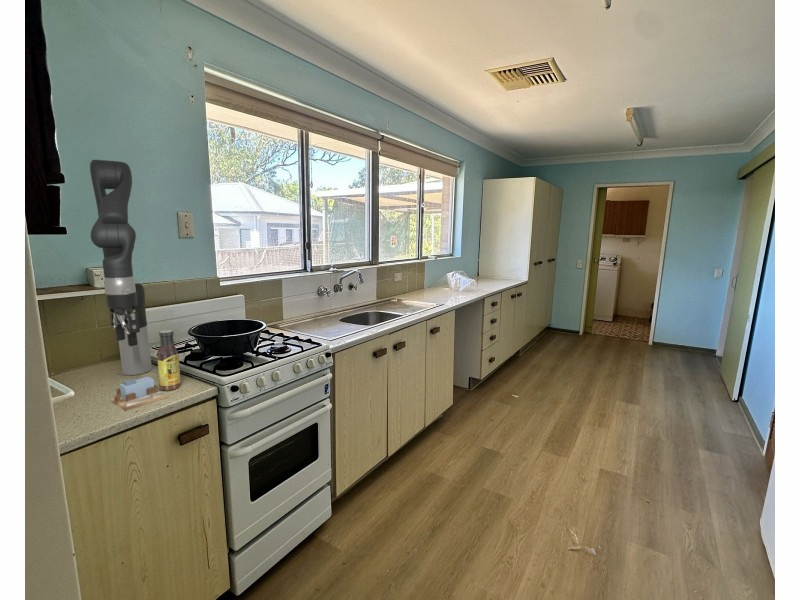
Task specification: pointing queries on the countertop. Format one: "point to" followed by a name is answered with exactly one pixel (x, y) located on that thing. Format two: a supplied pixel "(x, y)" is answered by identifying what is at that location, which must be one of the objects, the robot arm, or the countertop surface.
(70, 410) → the countertop surface
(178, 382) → the sauce bottle
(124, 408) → the jig
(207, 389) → the countertop surface
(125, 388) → the light blue block
